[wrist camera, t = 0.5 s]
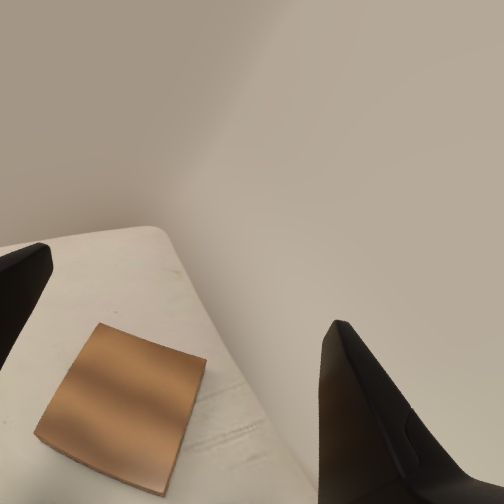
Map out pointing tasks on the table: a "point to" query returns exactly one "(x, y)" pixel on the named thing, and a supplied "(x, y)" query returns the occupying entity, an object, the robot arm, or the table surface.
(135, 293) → the table surface
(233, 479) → the table surface
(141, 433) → the trivet
